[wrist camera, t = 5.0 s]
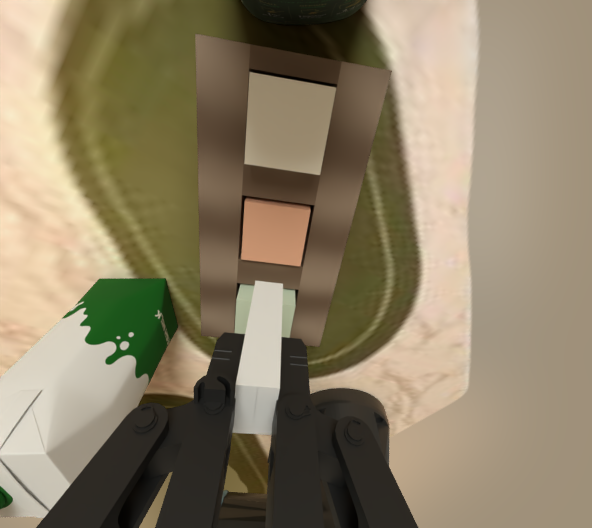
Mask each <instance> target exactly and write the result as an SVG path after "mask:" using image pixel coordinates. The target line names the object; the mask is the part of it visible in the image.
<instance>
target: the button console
mask: <svg viewBox="0 0 592 528" xmlns="http://www.w3.org/2000/svg"><path fill="white" fill-rule="evenodd" d="M250 72H252V73H258V74H263V75H269V76H274V77H280V78H286V79H291V80H297V81H302V82H308V83H313V84H319V85H324V86H330V87H336V93H335V98H334V103H333V109H332V114H331V119H330V125H329V130H328V135H327V141H326V146H325V151H324V157H323V162H322V167H321V173H320V175H315V174H309V173H302V172H295V171H289V170H282V169H275V168H269V167H262V166H255V165H249V164H244V160H245V143H246V126H247V108H248V91H249V74H250ZM391 72H392V71H390V70H384V69H379V68H374V67H369V66H363V65H358V64H353V63H347V62H342V61H337V60H332V59H326V58H321V57H316V56H310V55H305V54H300V53H295V52H289V51H284V50H279V49H273V48H268V47H263V46H258V45H252V44H247V43H242V42H236V41H231V40H226V39H220V38H215V37H210V36H205V35H199V34H196V84H197V137H198V189H199V241H200V294H201V336H211V337H220V336H221V335H222V334H223V333H224V332H228V333H235V315H236V299H237V295H238V292H239V288H240V284H241V283H243V284H252V285H255V281H264V282H272V283H281V284H283V288H287V289H295V305H296V306H295V311H294V316H293V322H292V327H291V332H290V338H298V339H302V341H303V343H304V344H305V345H307V346H317V347H319V346H320V342H321V338H322V334H323V331H324V327H325V323H326V319H327V315H328V312H329V308H330V304H331V300H332V296H333V293H334V289H335V285H336V281H337V277H338V273H339V270H340V266H341V262H342V258H343V254H344V251H345V247H346V243H347V239H348V235H349V232H350V228H351V224H352V220H353V216H354V213H355V209H356V205H357V201H358V197H359V194H360V190H361V186H362V182H363V178H364V175H365V171H366V167H367V163H368V159H369V156H370V152H371V148H372V144H373V140H374V137H375V133H376V129H377V125H378V121H379V118H380V114H381V110H382V106H383V102H384V99H385V95H386V91H387V87H388V83H389V80H390V76H391ZM247 196H252V197H259V198H266V199H273V200H280V201H287V202H295V203H302V204H309V205H310V210H311V211H310V217H309V222H308V228H307V233H306V238H305V244H304V249H303V255H302V260H301V266H292V265H284V264H275V263H267V262H259V261H250V260H242V259H241V253H242V237H243V221H244V205H245V200H246V197H247Z"/></svg>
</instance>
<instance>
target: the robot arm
mask: <svg viewBox="0 0 592 528" xmlns="http://www.w3.org/2000/svg"><path fill="white" fill-rule="evenodd" d="M282 303H283V284H281V283H272V282H264V281H255V286H254V291H253V296H252V301H251V307H250V312H249V317H248V322H247V328H246V333H245V334H238V333H228V332H224V333H223V334H222V335H221V336H220V338H219V339H218V340H217V342H216V346H215V349H214V352H213V355H212V359H211V362H210V365H209V369H208V372H207V375H206V376H203V377H202V378H201V379H200V380H198V381H197V383H196V385H195V386H194V400H193V401H191V402H189V403H187V404H185V405H182V406H179V407H174V408H170V409H165V407H164V406H162V405H160V404H159V403H147V404H142V405H140V406H138V407H136V408H135V409H133V410H132V411H131V412H130V413H129V414H128V415H127V416H126V417H125V418H124V419H123V421H122V422H121V423H120V424H119V426H118V427H117V428H116V429H115V430H114V432H113V433H112V434H111V435H110V437H109V438H108V439H107V440H106V442H105V443H104V444H103V445H102V447H101V448H100V449H99V450H98V452H97V453H96V454H95V455H94V457H93V458H92V459H91V460H90V462H89V463H88V464H87V465H86V466H85V468H84V469H83V470H82V471H81V473H80V474H79V475H78V476H77V478H76V479H75V480H74V481H73V483H72V484H71V485H70V486H69V488H68V489H67V490H66V491H65V493H64V494H63V495H62V496H61V498H60V499H59V500H58V501H57V502H56V504H55V505H54V506H53V507H52V509H51V510H50V511H49V512H48V514H47V515H46V516H45V517H44V519H43V520H42V521H41V522H40V524H39V525H38V526H37V527H36V528H139V526H140V524H141V523H142V521H143V519H144V517H145V515H146V514H147V512H148V510H149V508H150V506H151V505H152V503H153V501H154V499H155V497H156V496H157V494H158V492H159V490H160V488H161V486H162V485H163V483H164V481H165V479H166V478H167V476H168V474H169V473H170V472H173V473H172V476H171V479H170V482H169V485H168V489H167V492H166V495H165V498H164V501H163V505H162V508H161V511H160V514H159V517H158V521H157V524H156V527H155V528H418V526H417V524H416V522H415V520H414V518H413V516H412V514H411V512H410V509H409V508H408V505H407V503H406V501H405V499H404V497H403V495H402V493H401V491H400V489H399V487H398V485H397V483H396V480H395V478H394V476H393V474H392V472H391V470H390V468H389V422H388V419H387V416H386V412H385V409H384V407H383V405H382V404H381V402H380V401H379V400H378V399H376V398H375V397H374V396H372V395H370V394H368V393H365V392H362V391H359V390H353V389H330V390H324V391H320V392H317V393H314V394H311V395H310V390H309V376H308V367H307V366H308V363H307V350H306V346H305V344H304V343H303V341H302V339H298V338H287V337H281V336H282ZM232 433H247V434H263V435H271V434H272V436H271V447H270V452H269V457H268V463H269V471H268V488H267V494H256V493H237V492H228V491H227V490H224V491H223V489H224V484H225V478H226V472H227V466H228V460H229V454H230V446H231V438H232Z"/></svg>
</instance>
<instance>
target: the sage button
mask: <svg viewBox="0 0 592 528" xmlns="http://www.w3.org/2000/svg"><path fill="white" fill-rule="evenodd" d="M254 286H255V285H252V284H243V283H241V284H240V288H239V292H238V295H237V299H236V315H235V333H238V334H245V333H246V328H247V322H248V317H249V312H250V307H251V301H252V296H253V291H254ZM295 306H296V305H295V289H287V288H283V303H282V336H281V337H287V338H290V332H291V327H292V322H293V316H294V311H295Z"/></svg>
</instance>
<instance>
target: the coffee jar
mask: <svg viewBox="0 0 592 528" xmlns="http://www.w3.org/2000/svg"><path fill="white" fill-rule="evenodd" d="M241 1H242V3H243V4H244V6H245V7H246V8H247V9H248V11H249V12H250V13H252V14H253V15H254V16H255V17H257V18H258V19H260V20H262V21H265V22H270V23H276V24H286V25H306V24H308V25H310V24H321V23H327V22H333V21H337V20H341V19H344V18H347V17H349V16H351V15H352V14H354V13H355V12H356V11H358V10H359V9H360V8H361V7H362V6H363V4H364V3H365V2H366V0H241Z"/></svg>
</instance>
